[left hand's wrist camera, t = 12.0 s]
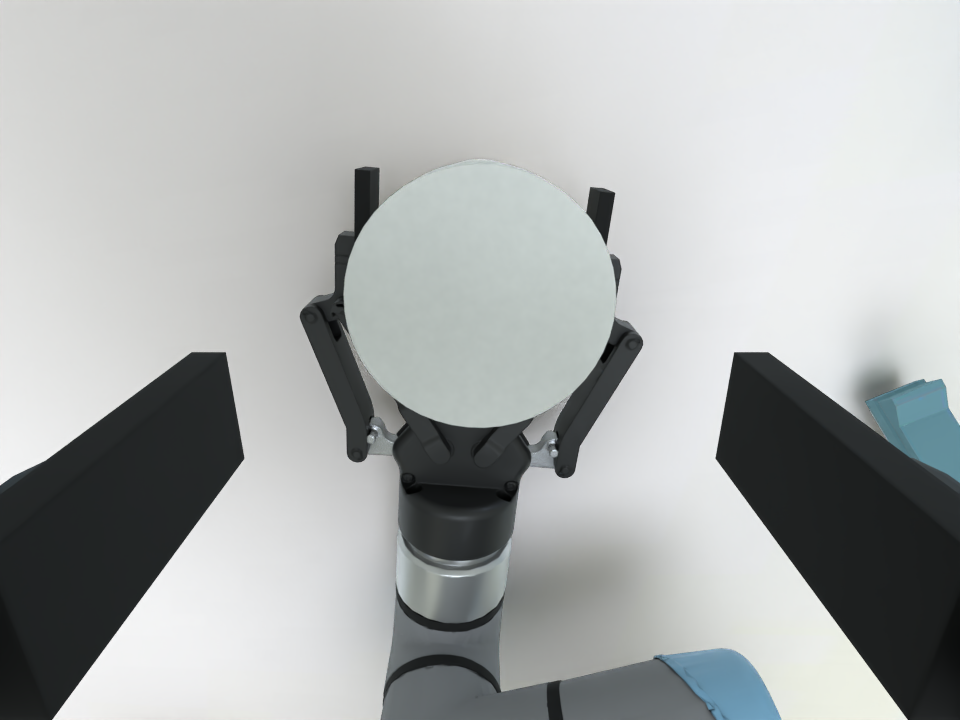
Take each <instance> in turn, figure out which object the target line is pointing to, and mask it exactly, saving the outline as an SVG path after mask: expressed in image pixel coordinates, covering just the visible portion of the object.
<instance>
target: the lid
mask: <svg viewBox="0 0 960 720" xmlns="http://www.w3.org/2000/svg"><path fill="white" fill-rule="evenodd" d="M615 307H616V283H615V276H614V270H613V265H612V262H611V259H610V255H609V252H608V249H607V247H606V245H605V243H604V240H603V238H602V236H601V234H600V232H599V231H598V229H597V228H596V226H595V225H594V223H593V221H592V220H591V218H590V217H589V216H588V215H587V214H586V212H585V211H584V210H583V209H582V208H581V207H580V205H579V204H577V203H576V202H575V201H574V200H573V199H572V198H571V197H570V196H569V195H567V194H566V193H565V192H564V191H562V190H561V189H559V188H558V187H556V186H555V185H553V184H552V183H550V182H549V181H547V180H546V179H544V178H542V177H540V176H538V175H536V174H534V173H532V172H530V171H528V170H525V169H522V168H519V167H516V166H513V165H509V164H504V163H498V162H489V161H471V162H461V163H455V164H451V165H447V166H443V167H440V168H438V169H435V170H433V171H430V172H428V173H425V174H423V175H422V176H420V177H418V178H416V179H415V180H413V181H411V182H409V183H408V184H406V185H405V186H403V187H402V188H400V189H399V190H398V191H396V192H395V193H394V194H393V195H391V196H390V197H389V198H387V199H386V200H385V201H384V202H383V204H382V205H381V206H380V207H379V208H378V209H377V210H376V211H375V212H374V213H373V214H372V216H371V217H370V219H369V220H368V221H367V223H366V224H365V225H364V227H363V229H362V230H361V232H360V234H359V236H358V238H357V240H356V242H355V244H354V246H353V249H352V252H351V255H350V257H349V260H348V265H347V269H346V274H345V282H344V312H345V317H346V322H347V327H348V331H349V334H350V337H351V340H352V342H353V345H354V347H355V349H356V351H357V353H358V355H359V357H360V359H361V361H362V363H363V364H364V366H365V367H366V369H367V370H368V372H369V373H370V374H371V376H372V377H373V378H374V379H375V380H376V381H377V383H378V384H379V385H380V386H381V387H382V388H383V389H384V390H385V391H386V392H388V393H389V394H390V395H391V396H392V397H393V398H394V399H396V400H397V401H399V402H400V403H401V404H403V405H404V406H406V407H407V408H409V409H411V410H413V411H415V412H417V413H418V414H420V415H423V416H425V417H428V418H430V419H433V420H435V421H439V422H442V423H446V424H450V425H455V426H462V427H475V428H487V427H498V426H504V425H509V424H514V423H518V422H521V421H524V420H527V419H530V418H533V417H535V416H537V415H539V414H541V413H543V412H545V411H547V410H549V409H550V408H552V407H554V406H555V405H557V404H558V403H560V402H561V401H563V400H564V399H565V398H566V397H568V396H569V395H570V394H571V393H573V392H574V391H575V390H576V389H577V388H578V387H579V386H580V384H581V383H582V382H583V381H584V380H585V379H586V378H587V376H588V375H589V374H590V372H591V371H592V370H593V368H594V367H595V366H596V364H597V362H598V360H599V359H600V357H601V355H602V353H603V351H604V349H605V346H606V344H607V342H608V339H609V337H610V333H611V329H612V325H613V322H614V316H615Z"/></svg>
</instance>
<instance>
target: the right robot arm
mask: <svg viewBox="0 0 960 720" xmlns="http://www.w3.org/2000/svg"><path fill="white" fill-rule="evenodd" d="M614 197H615V193H614V192H612V191H609V190H607V189H604V188H594V187H590V192H589V199H588V206H587V212H586V214H587V215H588V216H589V217H590V218H591V220H592V221H593V223H594V225H595V226H596V228H597V229H598V231H599V232H600V234H601V236H602V238H603V240H604V243H605V245H607V239H608V233H609V227H610V221H611V215H612V209H613V203H614ZM378 208H379V168H374V167H362V168H358V169H355V230H354V232H351V231H344V232H342V233H341V234H339V235H338V238H337V240H336V243H335V292H334V293H332V294H328V295H325V296H324V295H319V296H317V297H315V298H314V299H313V300H312V301H311V302H310V303H309V304H308V305H307V306H306V307H305V308H304V309H303V310H302V311H301V313H300V319H301V322H302V325H303V327H304V329H305V332H306V334H307V336H308V339H309V341H310V343H311V346H312V348H313V350H314V353H315V355H316V358H317V360H318V362H319V365H320V367H321V369H322V372H323V374H324V376H325V379H326V381H327V384H328V386H329V388H330V391H331V393H332V395H333V398H334V400H335V402H336V405H337V407H338V410H339V412H340V414H341V417H342V419H343V421H344V424H345V426H346V431H347V455H348V457H349V459H350V460H352V461H353V462H362V461H364V460H365V459H366V457H367V455H368V454H374V455H391V456H393V457H394V459H395V460H396V462H397V464H398V466H399V469H400V486H399V511H398V525H399V530H398V535H397V562H396V603H395V616H394V629H393V639H392V646H391V652H390V658H389V664H388V669H387V675H386V681H385V687H384V694H383V695H384V698H383V710H382V715H381V720H781V718H780V715H779V713H778V710H777V708H776V706H775V704H774V702H773V700H772V698H771V696H770V693H769V692H768V690H767V688H766V686H765V684H764V682H763V681H762V679H761V677H760V675H759V674H758V672H757V671H756V669H755V668H754V667H753V666H752V664H751V663H750V662H749V661H748V660H747V659H746V658H745V657H744V656H742V655H741V654H739V653H738V652H736V651H733V650H731V649H722V648H721V649H712V650H704V651H696V652H688V653H680V654H672V655H656V656H654V658H653V660H650V661H645V662H641V663H637V664H632V665H628V666H624V667H620V668H615V669H611V670H607V671H603V672H598V673H594V674H590V675H586V676H581V677H577V678H573V679H568V680H564V681H561V680H560V681H554V682H550V683H544V684H539V685H534V686H530V687H525V688H520V689H515V690H510V691H505V692H501V690H500V670H499V637H500V626H501V615H502V604H503V599H504V593H505V588H506V583H507V575H508V568H509V560H510V552H511V542H512V538H511V536H512V533H513V529H514V521H515V514H516V506H517V499H518V491H519V483H520V479H521V477H522V475H523V474H524V472H525V471H526V470H527V469H528V467H529V466H533V467H543V468H554V469H555V472H556V474H557V475H558V476H559V477H561V478H568V477H570V476H572V475H573V474H574V472H575V468H576V462H577V457H578V452H579V447H580V445H581V443H582V442H583V440H584V439H585V437H586V436H587V434H588V432H589V431H590V429H591V428H592V426H593V424H594V423H595V421H596V420H597V418H598V417H599V415H600V413H601V412H602V410H603V409H604V407H605V405H606V404H607V402H608V401H609V399H610V398H611V396H612V394H613V393H614V391H615V390H616V388H617V387H618V385H619V383H620V382H621V380H622V379H623V377H624V375H625V374H626V372H627V371H628V369H629V368H630V366H631V364H632V363H633V361H634V360H635V358H636V356H637V355H638V353H639V352H640V350H641V349H642V346H643V340H642V338H641V336H640V335H639V334H638V333H637V332H636V330H635V329H634V328H633V327H632V325H631V324H630V323H629V322H627V321H622V320H619V319H617V318H615V317H614V322H613V325H612V329H611V333H610V337H609V339H608V342H607V344H606V346H605V349H604V351H603V353H602V355H601V357H600V359H599V360H598V362H597V364H596V366H595V367H594V368H593V370H592V371H591V372H590V374H589V375H588V376H587V378H586V379H585V380H584V381H583V382H582V383H581V384H580V386H579V387H578V388H577V389H576V390H575V391H574V392H573V393H572V395H571V397H570V398H569V400H568V402H567V403H566V405H565V407H564V408H563V410H562V412H561V413H560V415H559V417H558V419H557V421H556V424H555V427H554V431H547V432H546V433H545V434H544V435H543V437H542V439H541V441H540V442H539V443H537V444H535V445H529V443H528V441H527V439H526V438H525V436H524V434H523V433H522V431H523V430H524V429H525V428H526V427H527V426H528V425H529V424H530V423H531V421H532V420H533V418H530V419H527V420H524V421H521V422H518V423H514V424H509V425H504V426H498V427H487V428H475V427H462V426H455V425H450V424H446V423H442V422H439V421H435V420H433V419H430V418H428V417H425V416H423V415H420V414H418V413H417V412H415V411H413V410H411V409H409V408H407V407H406V406H404V405H403V404H401V403H400V402H399V401H397V400H396V399H395V401H396V402H397V405H398V409H399V411H400V413H401V415H402V416H403V418H404V419H405V421H406V422H407V423H406V424H405V425H404V426H403V427H402V428H401V429H400V430H399V431H398V433H397V434H392V433H389V432H388V431H387V429H386V427H385V424H384V422H383V421H382V420H381V418H379V417H374V410H373V405H372V402H371V399H370V396H369V394H368V391H367V389H366V386H365V383H364V381H363V378H362V376H361V373H360V371H359V368H358V366H357V363H356V361H355V358H354V356H353V353H352V351H351V348H350V346H349V343H348V341H347V338H346V336H345V333H344V331H343V328H342V326H341V323H342V325H343V326H344V328H345V329H346V330H347V332H348V333H349V331H348V327H347V322H346V317H345V312H344V282H345V274H346V269H347V265H348V260H349V257H350V255H351V252H352V249H353V246H354V244H355V242H356V240H357V238H358V236H359V234H360V232H361V230H362V229H363V227H364V225H365V224H366V223H367V221H368V220H369V219H370V217H371V216H372V214H373V213H374V212H375V211H376V210H377V209H378ZM609 255H610V259H611V262H612V265H613V270H614V276H615V283H616V297H617V291H618V286H619V279H620V274H621V265H620V260H619V259H618V258H617V257H616V256H615V255H613V254H609ZM339 320H340V321H339ZM340 322H341V323H340ZM349 335H350V334H349Z"/></svg>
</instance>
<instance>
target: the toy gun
mask: <svg viewBox="0 0 960 720" xmlns="http://www.w3.org/2000/svg"><path fill="white" fill-rule="evenodd" d="M865 402H866V404H867V406H868V407H869V409H870V410H869V411H870V412H871V414H872V416H873V417H874V419H875V421H876V422H877V424H878V426H879V427H880V429H881V431H882V433H883V434H884V436H885V438H886V439H887V441H888V442H890V443H891V444H892V445H894V446H895V447H896V448H898V449H899V450H901V451H902V452H903V453H905V454H906V455H907V456H909V457H910V458H915V459H917V460H919V461H921V462H923V463H925V464H927V465H929V466H931V467H934V468H936V469H938V470H940V471H942V472H944V473H946V474H948V475H950V476H951V477H952V478H954V479H955V480H956V481H958V482H959V483H960V425H959V424H958V422H957V421H956V419H955V418H954V416H953V414H952V413H951V411H950V410H949V408H948V400H947V393H946V386H945V384H944V383H943V381H942V379H939V380H935V381H930V382H925V380H924V379H922V380H918V381H914V382H912V383H909V384H907V385H904V386H902V387H899V388H897V389H894V390H892V391H890V392H887V393H885V394H882V395H880V396H877V397H875V398H872V399H870V400H867V401H865Z"/></svg>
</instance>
